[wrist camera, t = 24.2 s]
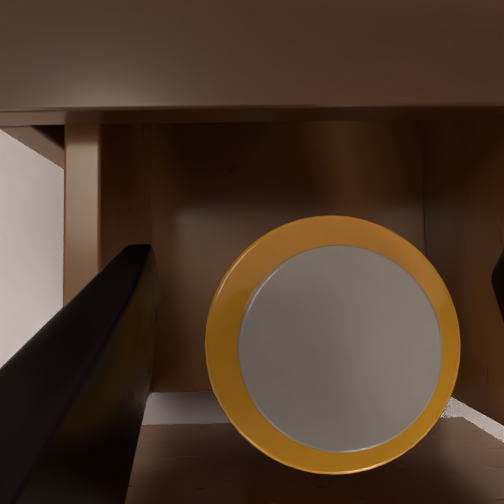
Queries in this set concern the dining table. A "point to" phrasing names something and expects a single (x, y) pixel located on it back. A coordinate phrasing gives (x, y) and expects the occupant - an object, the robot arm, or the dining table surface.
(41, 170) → the dining table surface
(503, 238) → the drawer
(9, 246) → the dining table surface
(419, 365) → the yellow jar
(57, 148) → the cabinet
